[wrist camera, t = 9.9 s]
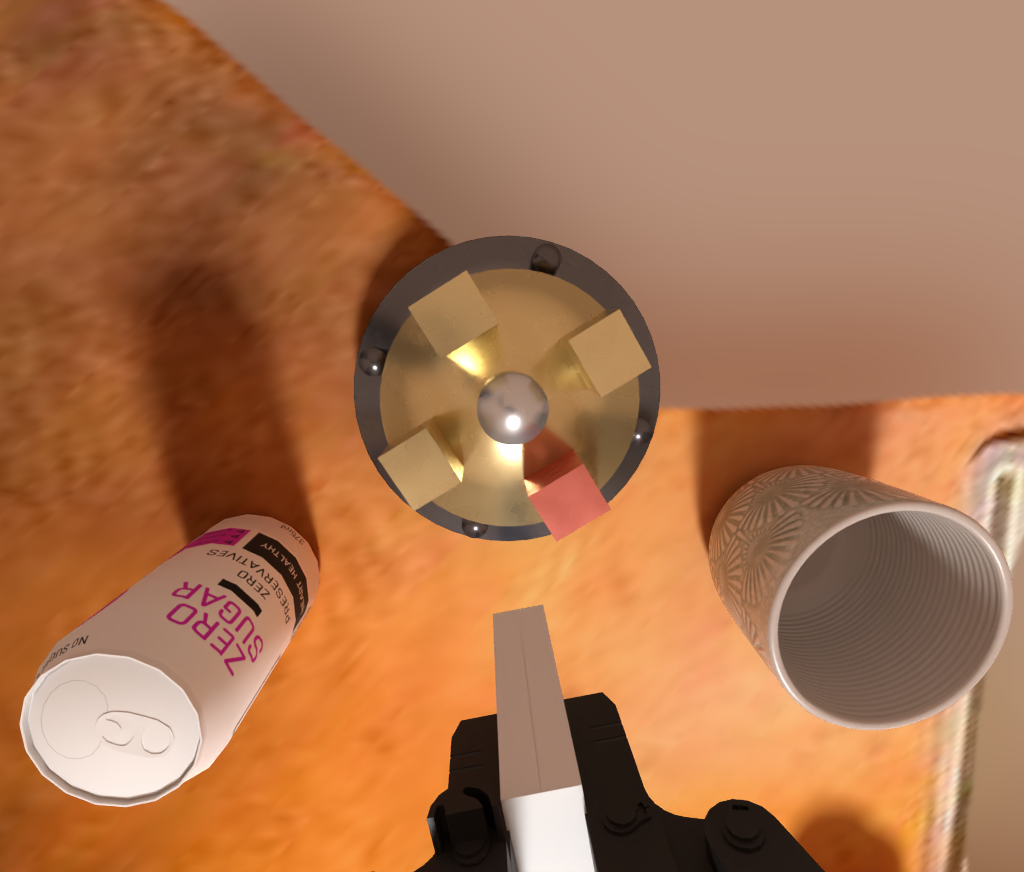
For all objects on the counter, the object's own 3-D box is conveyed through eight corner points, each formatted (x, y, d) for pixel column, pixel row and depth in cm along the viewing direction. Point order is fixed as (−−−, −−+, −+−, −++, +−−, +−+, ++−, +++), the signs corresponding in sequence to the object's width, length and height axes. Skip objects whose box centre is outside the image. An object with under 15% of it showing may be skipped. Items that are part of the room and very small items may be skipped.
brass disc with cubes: (471, 553, 35) (468, 597, 29) (339, 357, 32) (308, 365, 26) (670, 434, 34) (706, 457, 28) (551, 223, 31) (565, 201, 25)
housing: (305, 338, 34) (255, 343, 27) (563, 183, 33) (585, 144, 26) (458, 574, 38) (451, 635, 30) (696, 441, 37) (748, 471, 29)
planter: (658, 508, 38) (726, 583, 27) (825, 414, 37) (963, 453, 26) (737, 651, 40) (829, 771, 29) (895, 566, 39) (1049, 657, 29)
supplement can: (184, 608, 37) (-11, 793, 23) (211, 494, 36) (22, 614, 21) (304, 640, 38) (192, 839, 24) (336, 530, 37) (237, 669, 22)
